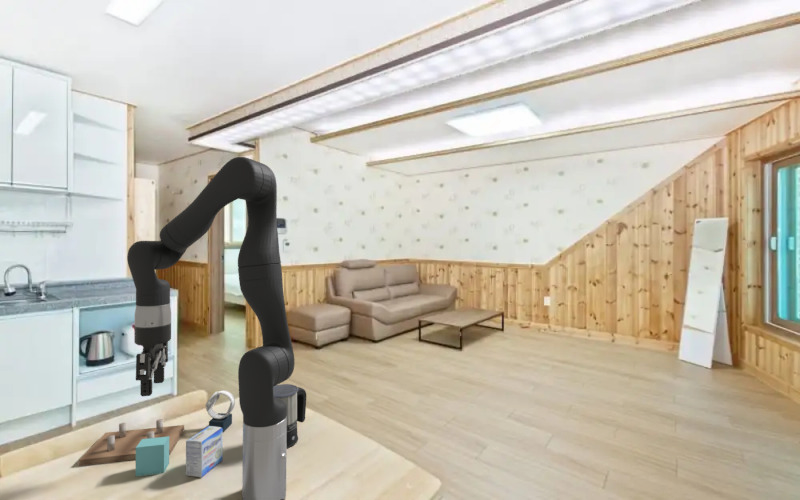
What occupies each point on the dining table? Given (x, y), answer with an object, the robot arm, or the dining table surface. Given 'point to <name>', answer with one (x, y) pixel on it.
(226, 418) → the silver ring on block
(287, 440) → the milk frother
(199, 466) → the medicine box
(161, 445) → the block
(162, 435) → the stub board
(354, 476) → the dining table surface
